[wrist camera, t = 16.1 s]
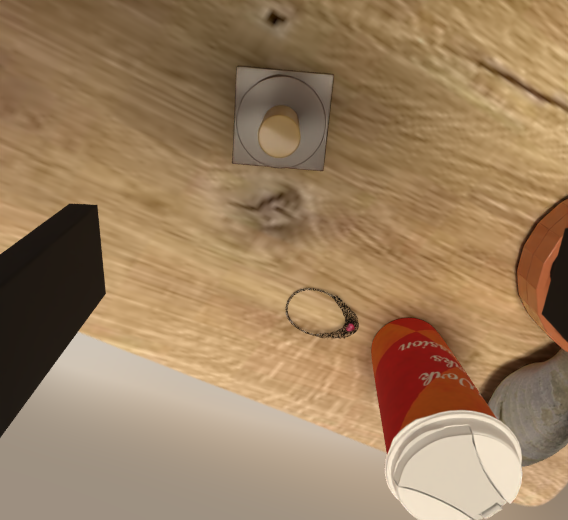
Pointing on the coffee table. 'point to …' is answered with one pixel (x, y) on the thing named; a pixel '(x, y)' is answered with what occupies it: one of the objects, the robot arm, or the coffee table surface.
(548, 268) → the bowl
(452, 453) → the coffee cup
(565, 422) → the seashell
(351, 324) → the necklace
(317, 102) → the ring stand
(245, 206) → the coffee table surface
